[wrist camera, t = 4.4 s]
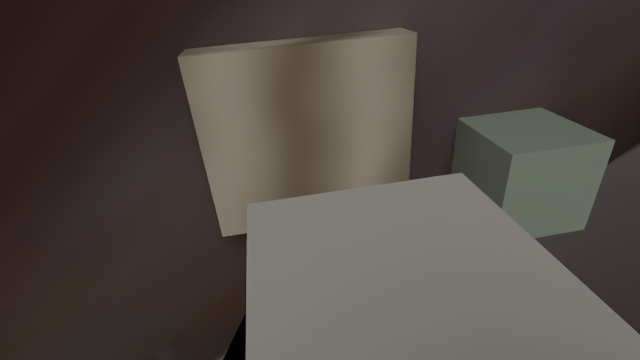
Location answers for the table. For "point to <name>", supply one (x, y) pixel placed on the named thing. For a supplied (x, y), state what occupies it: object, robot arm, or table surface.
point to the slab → (301, 116)
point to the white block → (415, 281)
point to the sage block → (534, 166)
